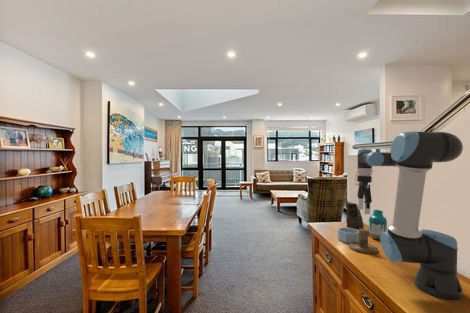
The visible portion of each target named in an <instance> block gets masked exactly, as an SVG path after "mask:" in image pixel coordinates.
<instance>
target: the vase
mask: <svg viewBox="0 0 470 313" xmlns="http://www.w3.org/2000/svg"><path fill="white" fill-rule="evenodd" d="M387 231H388V220H387V217H385V216H384V211H383V210H380V209H373V211H372V214H371V215H370V216H369V219H368V236H370V237H371V238H372V239H374V240H378V241H380V236H381V234H382V232H387Z"/></svg>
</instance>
